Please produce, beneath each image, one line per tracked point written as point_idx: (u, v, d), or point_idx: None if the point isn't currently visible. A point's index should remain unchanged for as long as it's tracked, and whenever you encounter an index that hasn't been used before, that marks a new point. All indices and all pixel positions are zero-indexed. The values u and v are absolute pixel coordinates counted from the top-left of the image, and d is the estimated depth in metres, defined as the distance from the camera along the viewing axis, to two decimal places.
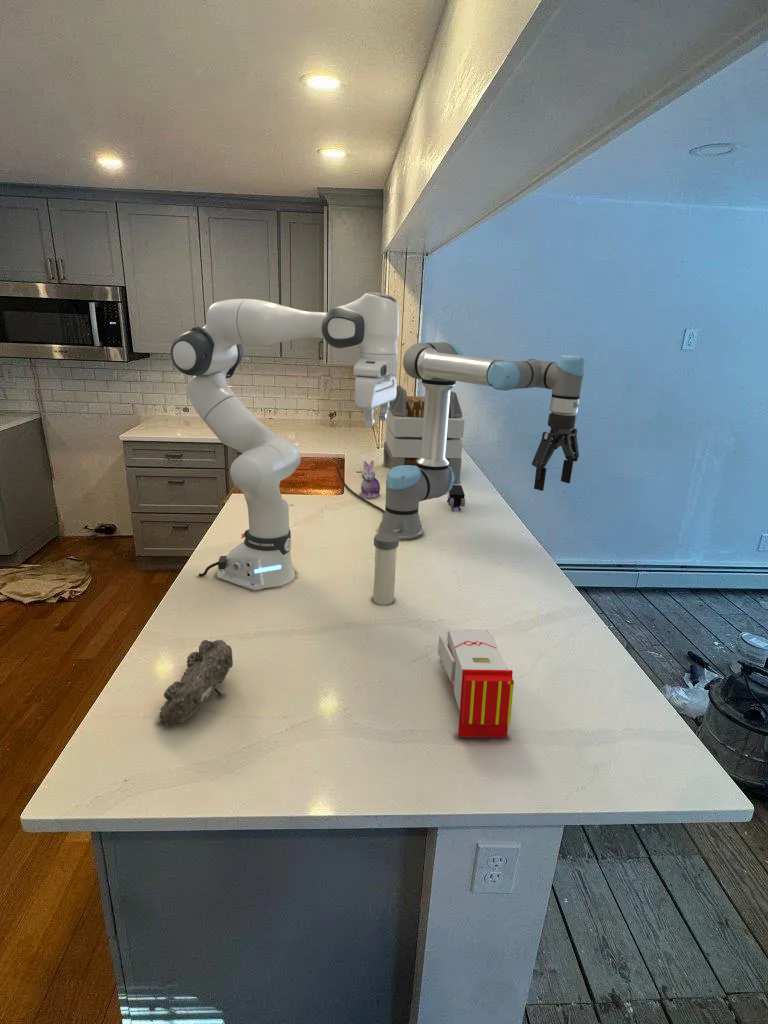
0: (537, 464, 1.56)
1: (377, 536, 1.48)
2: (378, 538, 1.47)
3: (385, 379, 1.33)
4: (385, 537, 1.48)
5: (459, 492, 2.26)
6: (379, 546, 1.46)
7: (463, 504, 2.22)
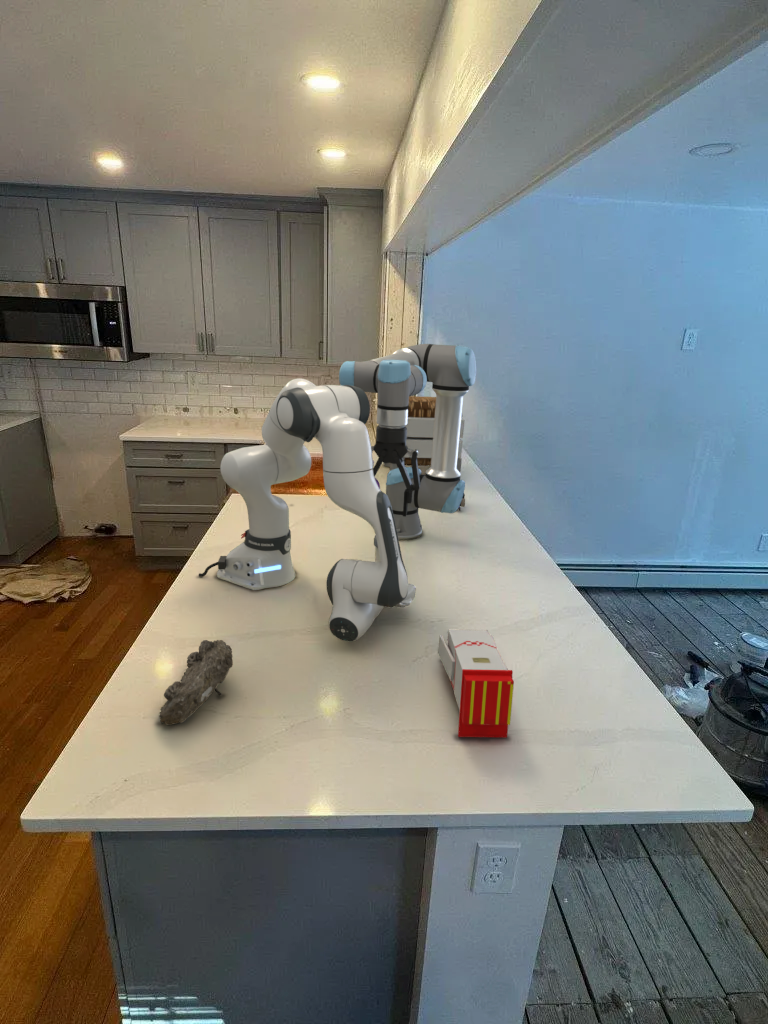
0: (419, 485, 1.43)
1: None
2: None
3: None
4: None
5: None
6: None
7: (463, 504, 2.22)
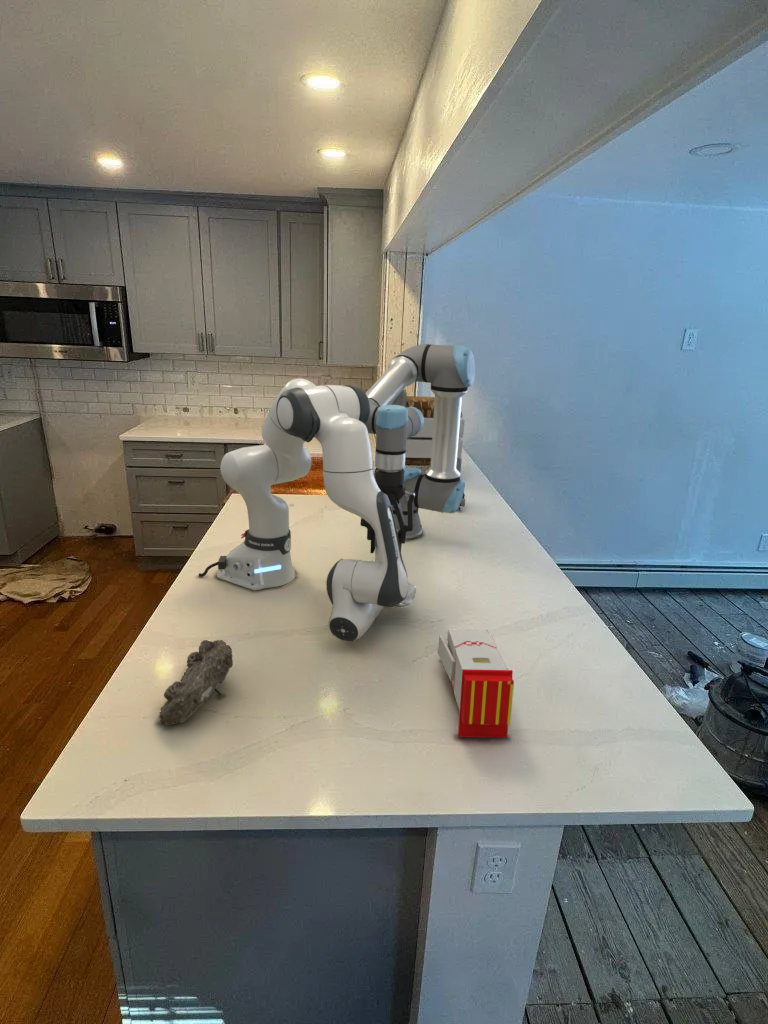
0: (413, 526, 1.47)
1: None
2: None
3: None
4: None
5: None
6: None
7: (463, 504, 2.22)
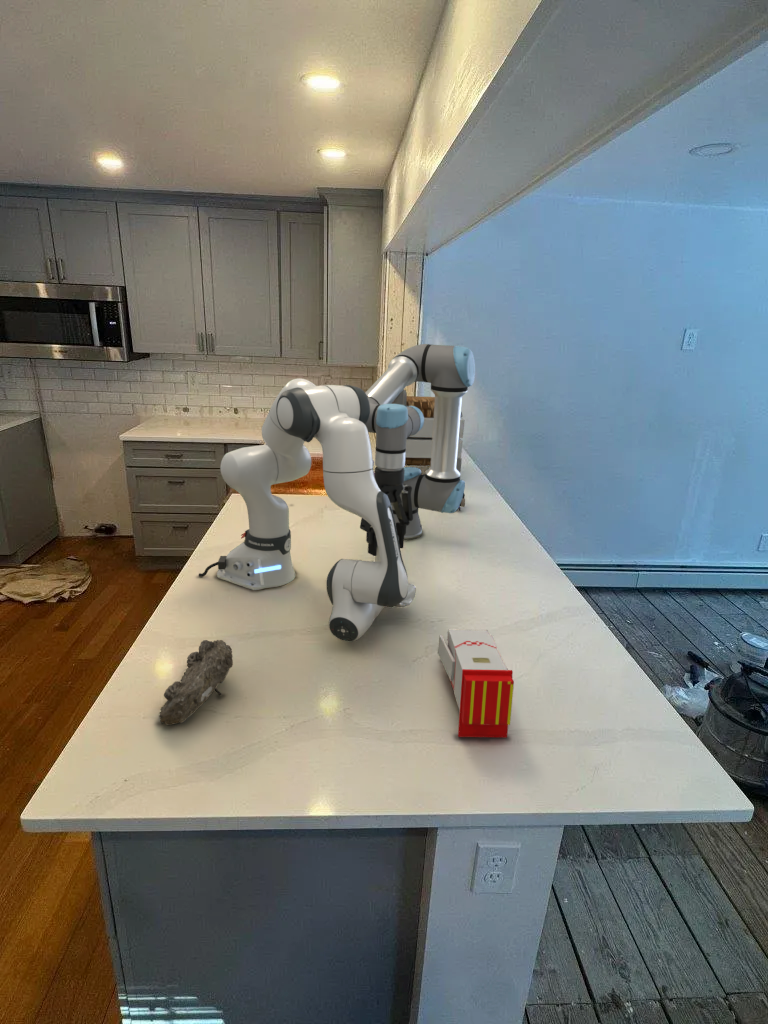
0: None
1: None
2: None
3: None
4: None
5: None
6: None
7: (463, 504, 2.22)
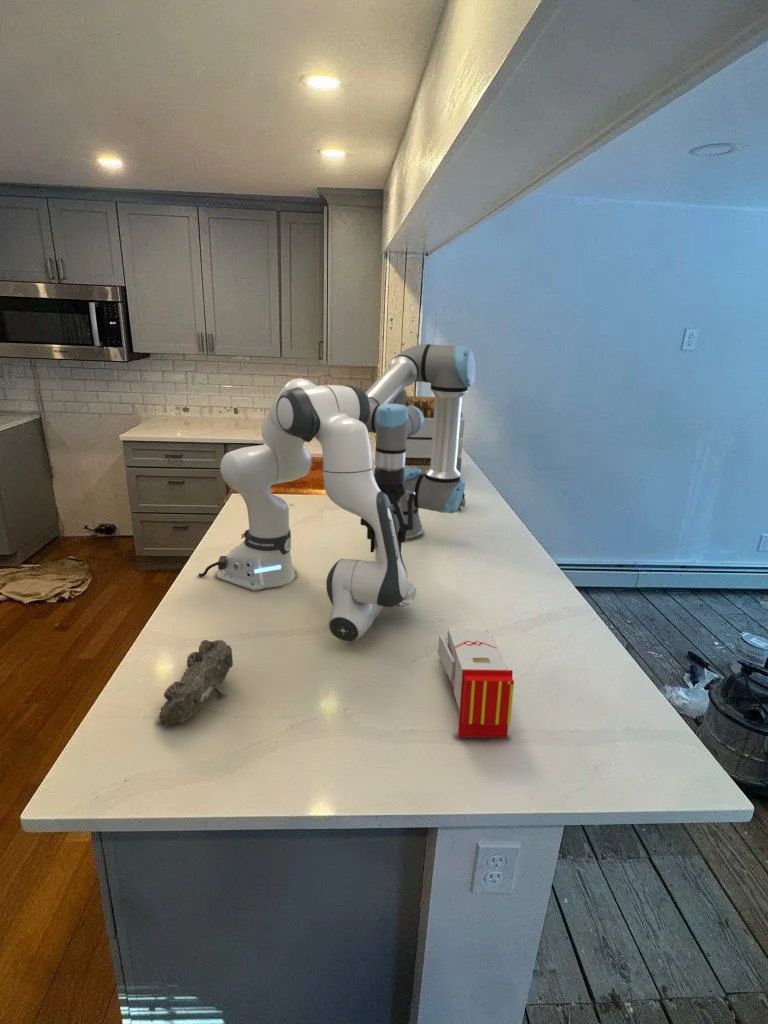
0: (413, 525, 1.46)
1: None
2: None
3: None
4: None
5: None
6: None
7: (463, 504, 2.22)
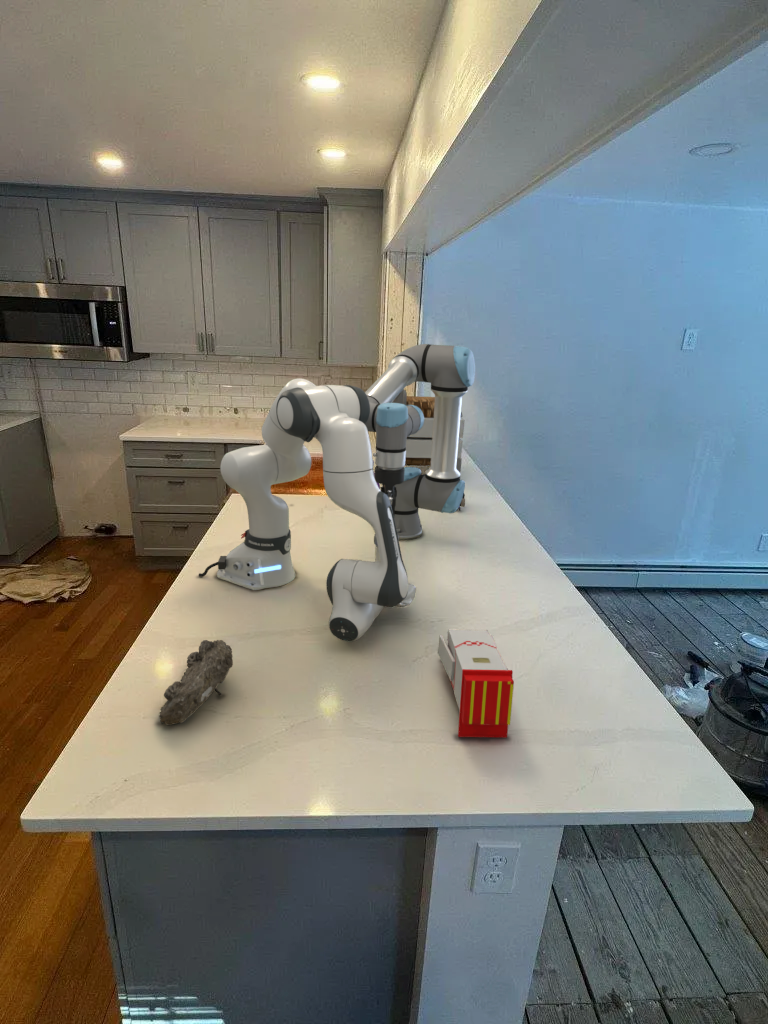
0: None
1: None
2: None
3: None
4: None
5: None
6: None
7: (463, 504, 2.22)
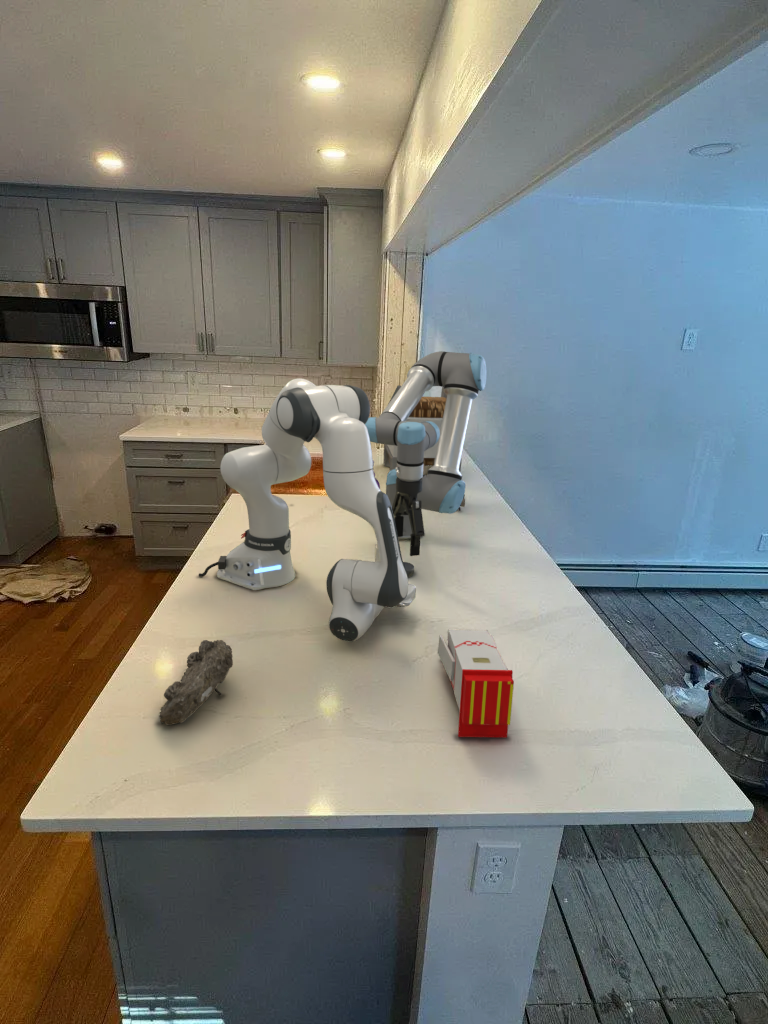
0: None
1: (408, 563, 1.72)
2: (403, 562, 1.72)
3: None
4: None
5: None
6: None
7: (463, 504, 2.22)
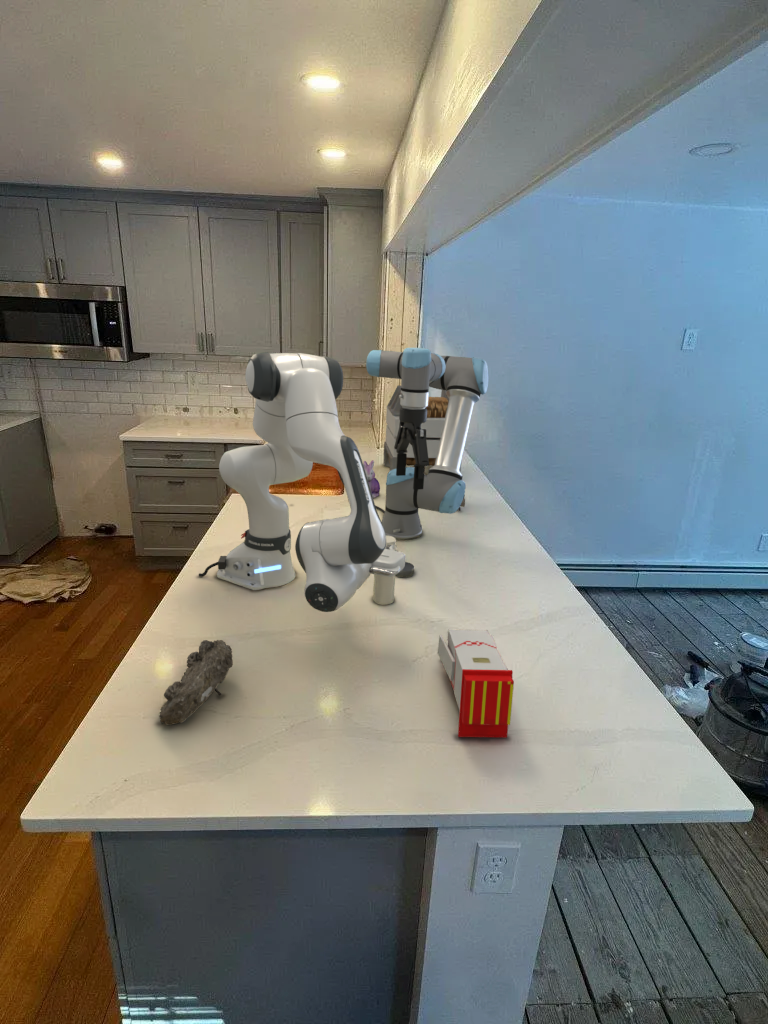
0: None
1: (408, 563, 1.72)
2: None
3: None
4: None
5: None
6: None
7: (463, 504, 2.22)
